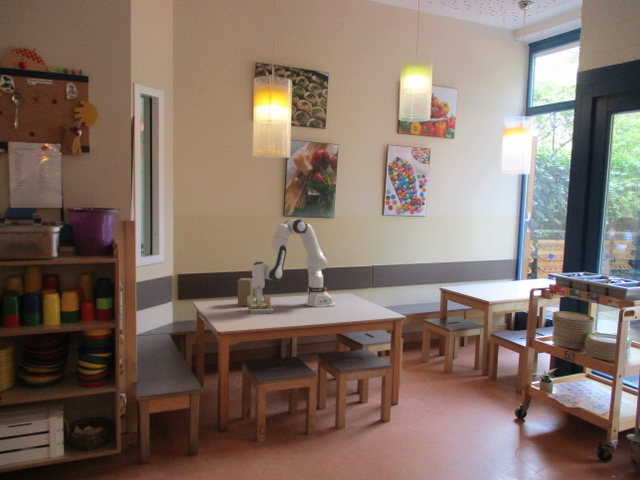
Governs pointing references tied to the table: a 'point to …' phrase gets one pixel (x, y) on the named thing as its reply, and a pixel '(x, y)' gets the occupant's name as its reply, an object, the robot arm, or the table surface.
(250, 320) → the table surface
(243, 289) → the wooden block
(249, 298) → the cargo
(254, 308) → the dock
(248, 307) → the pallet
